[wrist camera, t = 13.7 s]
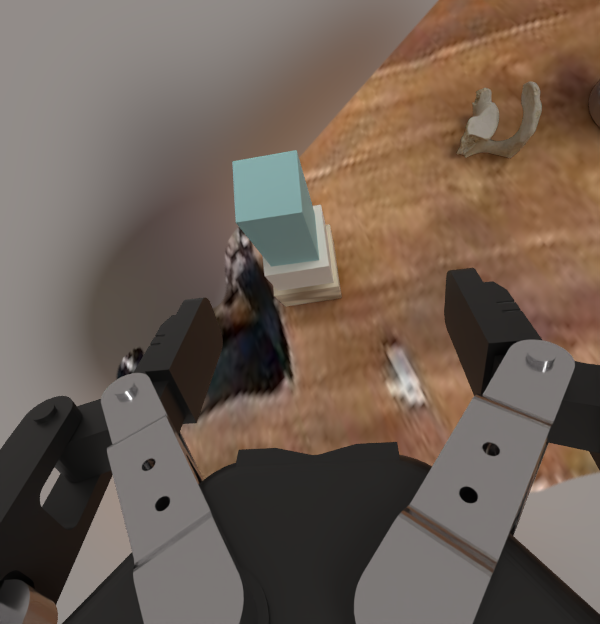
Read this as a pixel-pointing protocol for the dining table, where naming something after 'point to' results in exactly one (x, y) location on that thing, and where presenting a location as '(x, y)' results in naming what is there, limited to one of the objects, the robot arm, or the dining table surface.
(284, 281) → the cream block
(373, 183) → the dining table surface
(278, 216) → the teal block
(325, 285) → the beech block
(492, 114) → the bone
